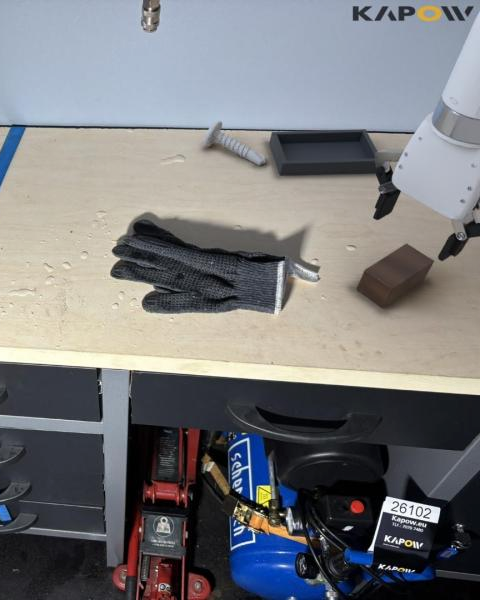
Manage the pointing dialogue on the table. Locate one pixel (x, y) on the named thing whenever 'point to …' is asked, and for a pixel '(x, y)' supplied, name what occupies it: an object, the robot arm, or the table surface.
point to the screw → (231, 144)
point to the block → (394, 275)
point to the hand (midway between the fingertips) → (413, 235)
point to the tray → (323, 152)
